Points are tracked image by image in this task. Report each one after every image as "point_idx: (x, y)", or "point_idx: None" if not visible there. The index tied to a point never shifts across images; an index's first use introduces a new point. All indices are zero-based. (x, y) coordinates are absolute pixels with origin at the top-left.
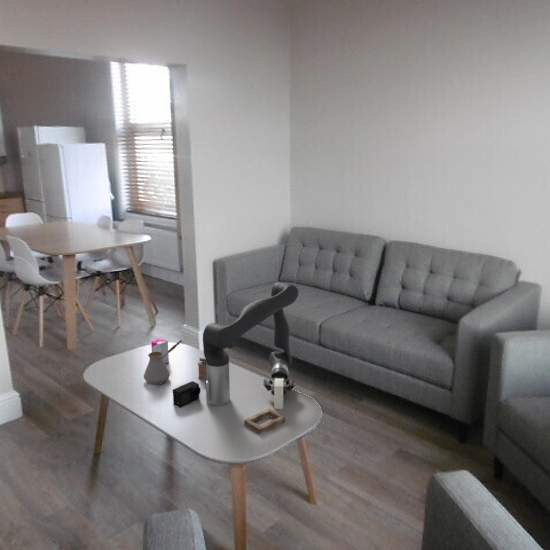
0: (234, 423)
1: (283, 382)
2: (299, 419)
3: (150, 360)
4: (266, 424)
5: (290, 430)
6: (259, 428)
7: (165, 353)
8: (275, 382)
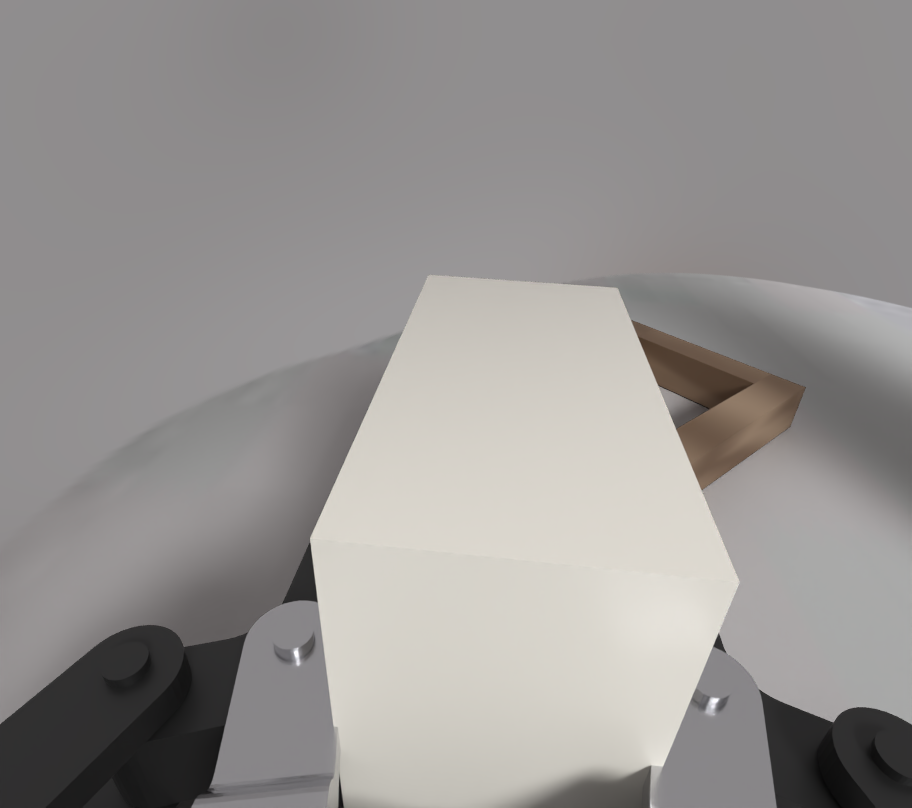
0: (891, 446)
1: (295, 801)
2: (292, 447)
3: None
4: None
5: None
6: (637, 325)
7: None
8: (624, 367)
